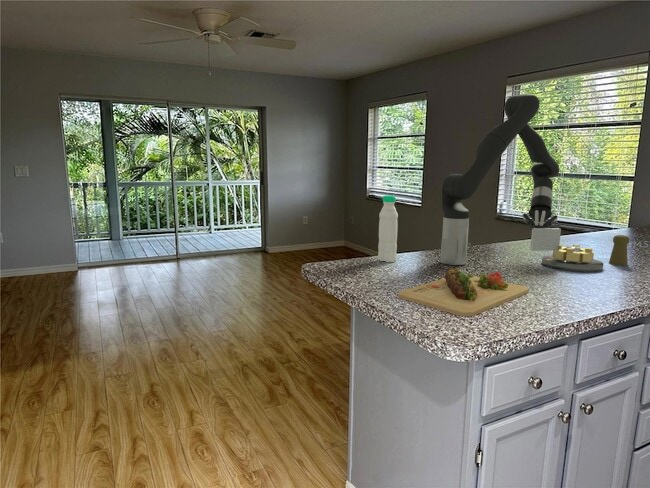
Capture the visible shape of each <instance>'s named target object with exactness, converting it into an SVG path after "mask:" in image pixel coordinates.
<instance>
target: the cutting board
mask: <svg viewBox="0 0 650 488" xmlns="http://www.w3.org/2000/svg"><path fill="white" fill-rule="evenodd" d="M527 294H529V288H528V287H527V286H524V285H519V284H514V283H510V282H505V281H504V280H503V276H502V274H501V273H500V272H499V271H498V270H495V272H491V273H490V274H489V275H487V274H485V273H480V274H479V276H476V275H474V274H473V273H470V274H467V273H466V272H462V270H459V269H458V268H454V269H449V270H446V271H445V274H444V277H443V278H440V279H438V280H434V281H430V282H427V283H424V284H421V285H416V286H414V287H409V288H406V289H403V290H399V291H398V293H397V297H399V298H398V299H402V300H405V301H408V302H409V301H410V302H413V303H417V304H418V305H423V306H427V307H430V308H432V309H437V310H440V311H442V312H443V311H444V312H448V313H451V314H454V315H457V316H461V317H474V316H476V315H479V314H481V313H483V312H485V311H489V310H491V309H492V308H495V307H498V306H500V305H503V304H504V303H507V302H509V301H512V300H515V299H517V298H519V297H521V296H523V295H527Z"/></svg>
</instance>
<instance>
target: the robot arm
mask: <svg viewBox="0 0 650 488" xmlns="http://www.w3.org/2000/svg"><path fill="white" fill-rule="evenodd" d="M503 108H504V113H505V115H506V118H507V119H506V120H504V121H503V122H501V123H499V124H498V125H496V126H495V127H492V128H491V129H490V130H489V131H488V132H487V133H486V134H485V135H484V137H482V139H481V140H480V141H479V142H478V145H476V148H475V153H474V154H475V155H474V161H473V163H472V164H471V166H470V167H469V168H468V170H467V171H466V172H464V173H451V174H448V175H446V176H445V178H444V179H443V181H442V186H441V209H442V212H443V220H442V235H441V236H442V237H441V246H440V248H441V249H440V264H445V265H451V266H461V265H462V266H463V265H466V264H467V257H468V255H467V254H468V240H469V227H470V226H469V225H470V211H469V209H467V208H466V206H464V205H463V203H462V201H465V200H469V199H470V198H472V197H473V195H475V193H476V192H477V190H478V189H479V188H480V186H481V184H482V182H483V181H484V179H485V177H486V176H487V175H488V173H489V171H490V170H491V169H492V167H493V166H494V165H495V163H496V162H497V160H499V159H500V157H501V156H502V155H503V153H504V152H505V151H506V149H507V148H508V147H509V146H510V144H511V143H512V142H513V141H514V139H515V138H516V137H517V135H518V137H519V138H520V139H521V142H522V143H523V145H524V146H525V150H526V152H527V154H528V157H529V160H530V161H531V162H532V163H535V164H533V165H532V166H531V169H530V172H531V174H530V175H531V176H532V180H533V189H532V194H531V199H530V206H529V207H530V208H529V210H528V212H527V213H525V212H524V213H523V214H522V220H523V221H524V222H525V223H526V224H527V225H528V227H529V228H551V226H553V225H554V224H555V223H556V222H558V214H557V215H556V214H555V215H554V214H553V211H552V207H553V206H552V204H553V185H554V183H553V180H552V178H555V177H557V176H559V173H560V166H559V165H560V164H558V162H557V161H556V160H555V158H553V156H552V155H551V154H550V152H549V151H548V148H547V145H546V143H545V141H544V138H543V137H542V136H541V134H539V132H537V131H536V130H535V129H534V128H533V127H532V126H531V125H530V124H529V123H530V122H531V120H533V118H535V116H536V115H537V113H538V111H539V109H540V99H539V97H538V96H537V95H535V94H531V93H528V94H516V95H511V96H509V97H508V98H507V99H506V100H505V103H504V107H503Z"/></svg>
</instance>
